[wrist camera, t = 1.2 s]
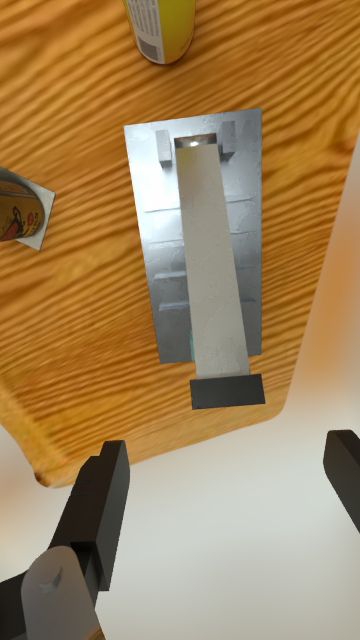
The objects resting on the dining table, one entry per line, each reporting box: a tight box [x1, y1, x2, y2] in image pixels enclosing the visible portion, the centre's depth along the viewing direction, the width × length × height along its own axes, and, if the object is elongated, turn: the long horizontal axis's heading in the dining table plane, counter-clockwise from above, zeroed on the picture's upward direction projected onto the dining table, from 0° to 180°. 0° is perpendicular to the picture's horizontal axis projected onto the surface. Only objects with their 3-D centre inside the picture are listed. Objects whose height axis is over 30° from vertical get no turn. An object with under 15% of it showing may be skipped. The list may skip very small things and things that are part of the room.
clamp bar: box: [174, 133, 265, 410], centre depth 23 cm, size 5×25×2 cm
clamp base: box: [124, 108, 261, 364], centre depth 31 cm, size 14×28×6 cm, turn 6°
